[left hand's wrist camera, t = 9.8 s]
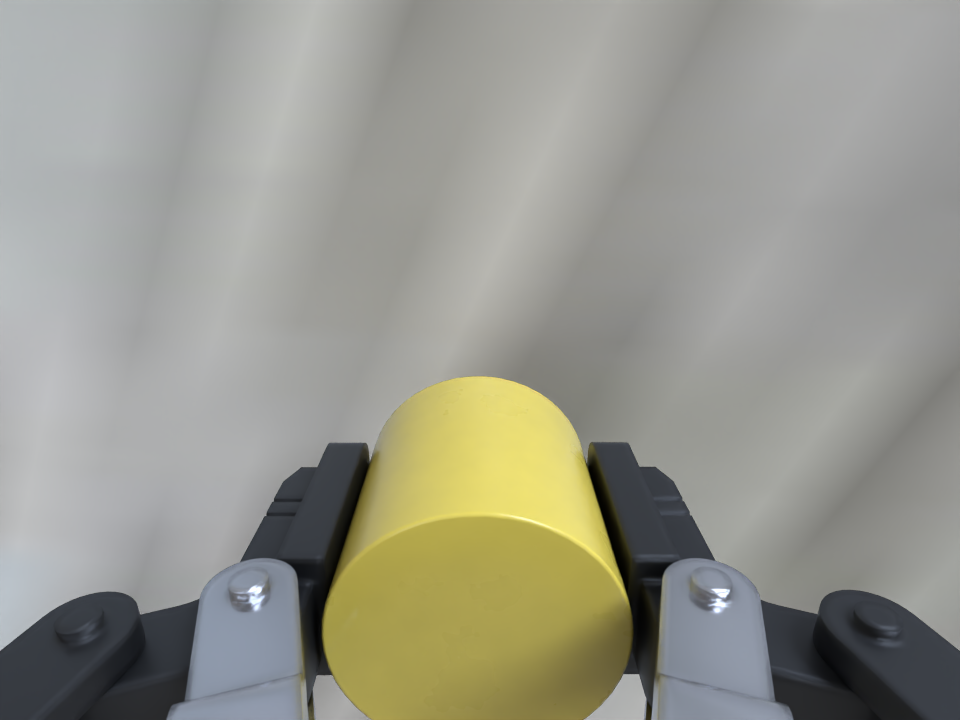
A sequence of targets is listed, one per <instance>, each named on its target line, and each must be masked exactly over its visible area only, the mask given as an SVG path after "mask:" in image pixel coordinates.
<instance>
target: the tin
mask: <svg viewBox="0 0 960 720" xmlns="http://www.w3.org/2000/svg"><path fill="white" fill-rule="evenodd" d="M633 633H634V630H633V616H632V612H631V608H630V604H629V600H628V597H627V593H626V590H625V587H624V584H623V580H622V577H621V574H620V571H619V567H618V564H617V561H616V558H615V554H614V551H613V548H612V545H611V541H610V538H609V535H608V532H607V528H606V525H605V522H604V519H603V515H602V512H601V509H600V506H599V502H598V499H597V496H596V493H595V489H594V486H593V483H592V480H591V476H590V473H589V470H588V467H587V463H586V460H585V457H584V454H583V450H582V447H581V444H580V441H579V439H578V436H577V434H576V432H575V430H574V428H573V427H572V425H571V423H570V422H569V420H568V419H567V418H566V416H565V415H564V414H563V413H562V411H561V410H560V409H559V408H558V407H557V406H555V405H554V404H553V403H552V402H551V401H550V400H548V399H547V398H546V397H544V396H543V395H541V394H540V393H538V392H536V391H534V390H533V389H531V388H529V387H527V386H524V385H521V384H519V383H516V382H513V381H509V380H505V379H501V378H494V377H485V376H475V377H462V378H455V379H451V380H447V381H443V382H440V383H437V384H435V385H432V386H430V387H427V388H425V389H424V390H422V391H420V392H418V393H416V394H415V395H413V396H412V397H411V398H409V399H408V400H407V401H405V402H404V403H403V404H402V405H401V406H400V407H399V408H398V409H397V410H396V411H395V412H394V413H393V414H392V415H391V417H390V418H389V419H388V421H387V422H386V423H385V425H384V427H383V429H382V431H381V432H380V434H379V437H378V440H377V442H376V445H375V448H374V451H373V454H372V457H371V461H370V464H369V467H368V470H367V473H366V476H365V480H364V483H363V486H362V489H361V492H360V495H359V498H358V502H357V505H356V508H355V511H354V514H353V517H352V520H351V524H350V527H349V530H348V533H347V536H346V539H345V543H344V546H343V549H342V552H341V555H340V558H339V561H338V565H337V568H336V571H335V574H334V577H333V580H332V583H331V587H330V590H329V593H328V596H327V599H326V602H325V606H324V611H323V616H322V630H321V636H322V643H323V651H324V654H325V658H326V661H327V664H328V667H329V669H330V671H331V673H332V675H333V677H334V679H335V681H336V683H337V684H338V686H339V687H340V689H341V690H342V692H343V693H344V694H345V696H346V697H347V698H348V699H349V700H350V701H351V702H352V703H353V704H354V705H355V707H356V708H358V709H359V710H360V711H361V712H362V713H364V714H365V715H366V716H367V717H368V718H370V719H371V720H584V719H585V718H587V717H588V716H589V715H590V714H592V713H593V712H594V711H595V710H596V709H597V708H598V707H599V706H601V705H602V704H603V702H604V701H605V700H606V699H607V698H608V697H609V695H610V694H611V693H612V692H613V690H614V689H615V687H616V686H617V684H618V683H619V681H620V680H621V678H622V675H623V673H624V671H625V669H626V667H627V664H628V661H629V657H630V653H631V650H632V643H633Z"/></svg>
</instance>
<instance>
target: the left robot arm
mask: <svg viewBox="0 0 960 720" xmlns="http://www.w3.org/2000/svg"><path fill="white" fill-rule="evenodd" d="M369 464H370V461H369V450H368V446H367V444H366V443H329V444H328V446H327V448H326V450H325V452H324V454H323V456H322V458H321V460H320V463H319V465H318V467H301V468H300V469H299V470H298V471H296V472H295V473H294V474H293V475H291V476H290V477H289V478H287V479H286V480H285V481H284V482H283V483H282V485H281V487H280V489H279V491H278V492H277V494H276V496H275V498H274V502H272V504H271V505H270V507H269V509H268V511H267V516H265V517H264V518H263V520H262V522H261V524H260V526H259V528H258V530H257V532H256V533H255V535H254V537H253V539H252V541H251V543H250V545H249V546H248V548H247V550H246V552H245V554H244V556H243V558H242V559H241V561H240V563H237V564H234V565H232V566H230V567H228V568H226V569H224V570H223V571H221V572H220V573H218V574H217V575H216V576H214V577H213V578H212V579H211V580H210V581H209V582H208V583H207V585H206V586H205V587H204V589H203V591H202V593H201V596H200V599H198V600H195V601H193V602H190V603H187V604H184V605H180V606H176V607H172V608H168V609H163V610H159V611H155V612H150V613H146V614H142V615H140V613H139V609H138V606H137V603H136V602H135V600H134V599H133V598H132V597H130V596H128V595H126V594H123V593H119V592H99V593H94V594H89V595H86V596H82V597H79V598H76V599H74V600H71V601H69V602H67V603H65V604H63V605H61V606H59V607H57V608H56V609H54V610H52V611H51V612H49V613H48V614H47V615H45V616H44V617H42V618H41V619H40V620H39V621H37V622H36V623H35V624H34V625H32V626H31V627H30V628H29V629H27V630H26V631H25V632H24V633H22V634H21V635H20V636H19V637H17V638H16V639H15V640H14V641H12V642H11V643H10V644H8V645H7V646H6V647H5V648H3V649H2V650H1V651H0V720H316V713H315V704H314V697H313V686H314V682H315V679H316V676H317V675H332V673H331V671H330V669H329V667H328V664H327V661H326V658H325V654H324V651H323V643H322V636H321V630H322V616H323V611H324V606H325V602H326V599H327V596H328V593H329V590H330V587H331V583H332V580H333V577H334V574H335V571H336V568H337V565H338V561H339V558H340V555H341V552H342V549H343V546H344V543H345V539H346V536H347V533H348V530H349V527H350V524H351V520H352V517H353V514H354V511H355V508H356V505H357V502H358V498H359V495H360V492H361V489H362V486H363V483H364V480H365V476H366V473H367V470H368V467H369ZM587 467H588V470H589V473H590V476H591V480H592V483H593V486H594V489H595V493H596V496H597V499H598V502H599V506H600V509H601V512H602V515H603V519H604V522H605V525H606V528H607V532H608V535H609V538H610V541H611V545H612V548H613V551H614V554H615V558H616V561H617V564H618V567H619V571H620V574H621V577H622V580H623V584H624V587H625V590H626V593H627V597H628V600H629V604H630V608H631V612H632V616H633V630H634V633H633V643H632V650H631V653H630V657H629V661H628V664H627V667H626V669H625V671H624V673H623V674H639V675H640V679H641V682H642V686H643V689H644V693H645V696H646V704H645V713H644V720H960V651H959V650H958V649H957V648H955V647H954V646H953V645H952V644H950V643H949V642H948V641H946V640H945V639H944V638H943V637H941V636H940V635H939V634H938V633H936V632H935V631H934V630H933V629H931V628H930V627H929V626H928V625H926V624H925V623H924V622H923V621H921V620H920V619H919V618H917V617H916V616H915V615H914V614H912V613H911V612H909V611H908V610H907V609H905V608H903V607H902V606H900V605H898V604H897V603H895V602H893V601H890V600H888V599H886V598H883V597H881V596H878V595H875V594H872V593H868V592H863V591H856V590H841V591H835V592H832V593H830V594H828V595H827V596H825V597H824V598H823V600H822V601H821V604H820V607H819V611H818V614H813V613H809V612H805V611H800V610H796V609H792V608H787V607H783V606H779V605H775V604H771V603H768V602H765V601H762V600H760V596H759V593H758V591H757V589H756V587H755V586H754V585H753V583H752V582H751V581H750V580H749V579H748V578H747V577H746V576H744V575H743V574H742V573H740V572H739V571H737V570H736V569H734V568H732V567H730V566H728V565H726V564H723V563H720V562H717V561H715V559H714V557H713V555H712V553H711V551H710V550H709V548H708V546H707V544H706V542H705V540H704V538H703V536H702V534H701V533H700V531H699V529H698V527H697V525H696V523H695V521H694V519H693V517H692V516H690V512H689V510H688V508H687V506H686V504H685V502H684V501H682V497H681V495H680V493H679V491H678V489H677V487H676V485H675V483H674V482H673V481H672V480H671V479H670V478H669V477H667V476H666V475H665V474H664V473H662V472H661V471H660V470H659V469H657V468H656V467H639V465H638V463H637V461H636V459H635V456H634V454H633V452H632V450H631V448H630V445H629V444H628V443H627V442H591V443H590V445H589V450H588V460H587Z"/></svg>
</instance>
